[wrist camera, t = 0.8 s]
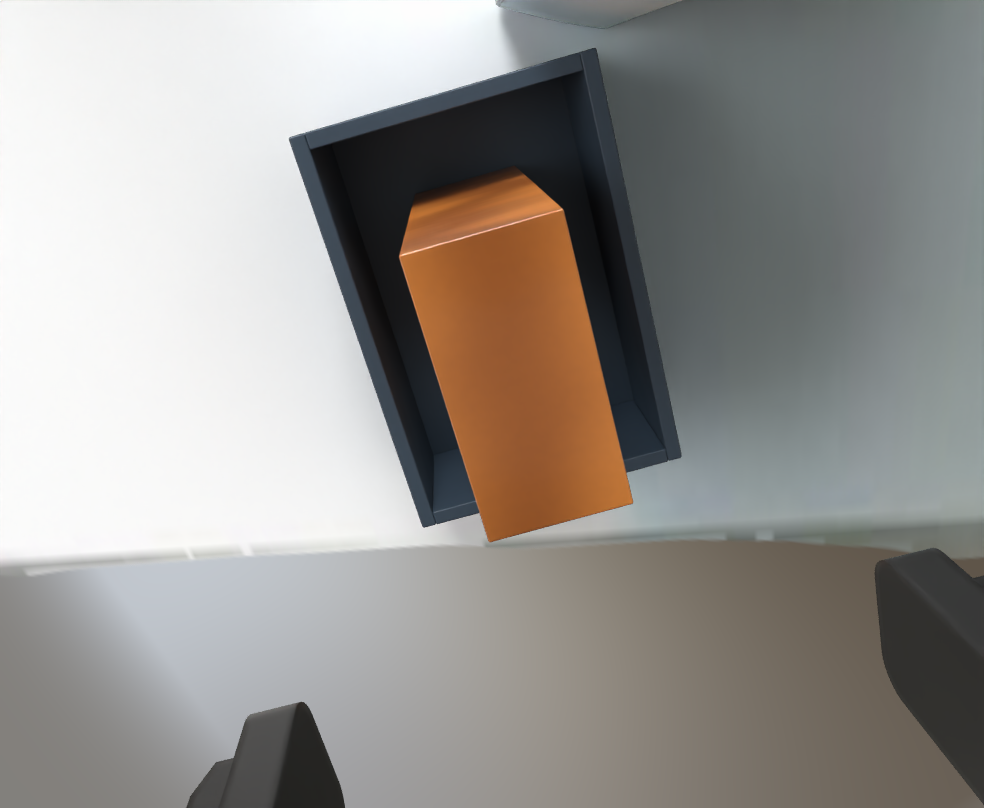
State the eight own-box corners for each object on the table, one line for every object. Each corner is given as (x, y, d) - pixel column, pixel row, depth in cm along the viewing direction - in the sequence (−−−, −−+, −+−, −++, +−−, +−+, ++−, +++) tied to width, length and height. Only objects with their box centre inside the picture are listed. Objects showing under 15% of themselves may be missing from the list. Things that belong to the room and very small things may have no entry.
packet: (514, 165, 36) (563, 208, 22) (563, 357, 39) (634, 504, 25) (414, 194, 36) (398, 255, 22) (471, 383, 39) (489, 543, 25)
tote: (568, 56, 35) (596, 47, 29) (645, 403, 40) (682, 457, 34) (314, 131, 35) (287, 137, 29) (425, 464, 41) (423, 528, 35)
